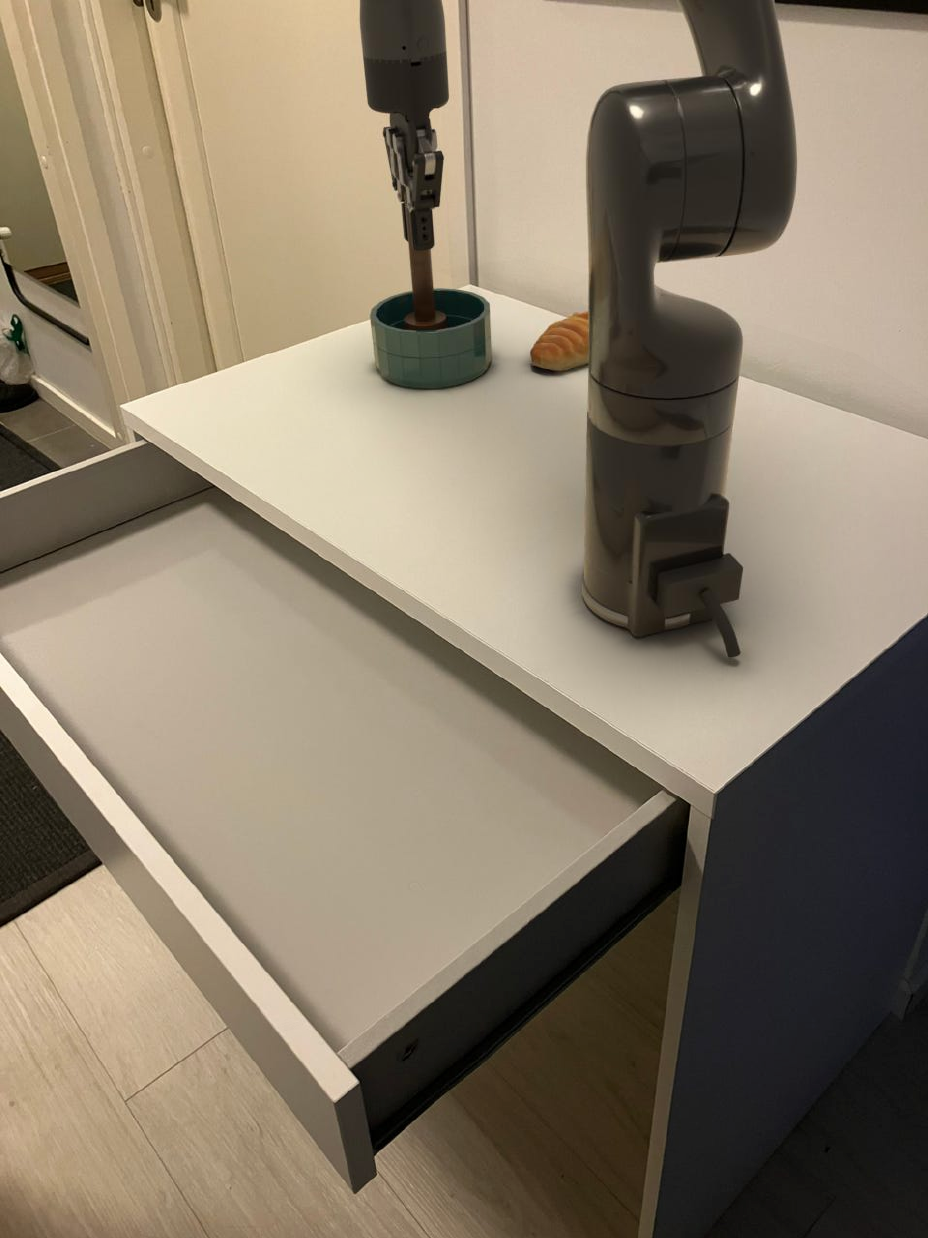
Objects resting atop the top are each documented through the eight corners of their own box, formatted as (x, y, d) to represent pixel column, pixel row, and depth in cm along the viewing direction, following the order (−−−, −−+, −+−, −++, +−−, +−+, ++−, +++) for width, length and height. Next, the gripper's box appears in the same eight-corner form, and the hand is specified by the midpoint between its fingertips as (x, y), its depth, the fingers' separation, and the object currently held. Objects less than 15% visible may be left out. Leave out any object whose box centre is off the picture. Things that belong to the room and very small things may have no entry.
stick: (452, 335, 105) (443, 194, 97) (411, 342, 105) (398, 200, 96) (440, 320, 109) (430, 183, 100) (400, 327, 108) (387, 189, 99)
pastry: (565, 381, 102) (565, 345, 100) (513, 366, 106) (512, 331, 103) (618, 350, 108) (619, 315, 105) (566, 337, 111) (566, 302, 109)
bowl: (508, 377, 104) (506, 320, 100) (392, 398, 101) (386, 340, 98) (471, 334, 113) (468, 281, 109) (365, 353, 110) (358, 299, 107)
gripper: (347, 41, 95) (367, 230, 106) (381, 64, 85) (400, 272, 95) (424, 33, 97) (436, 220, 107) (467, 54, 86) (476, 260, 97)
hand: (419, 243), depth 101 cm, fingers closed on stick, 2 cm apart
